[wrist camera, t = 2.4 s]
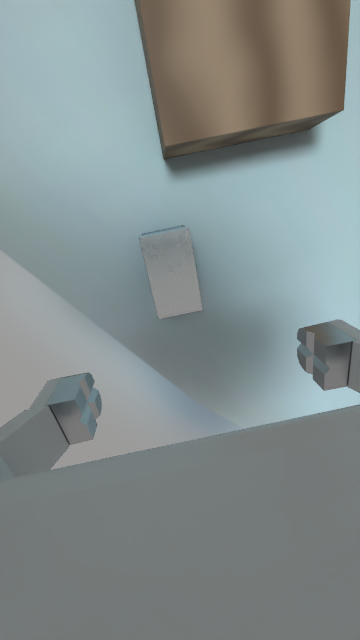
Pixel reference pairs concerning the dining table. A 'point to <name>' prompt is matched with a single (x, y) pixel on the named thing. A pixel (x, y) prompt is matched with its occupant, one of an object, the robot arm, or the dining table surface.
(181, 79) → the walnut stand
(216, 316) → the dining table surface
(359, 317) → the dining table surface
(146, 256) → the block
